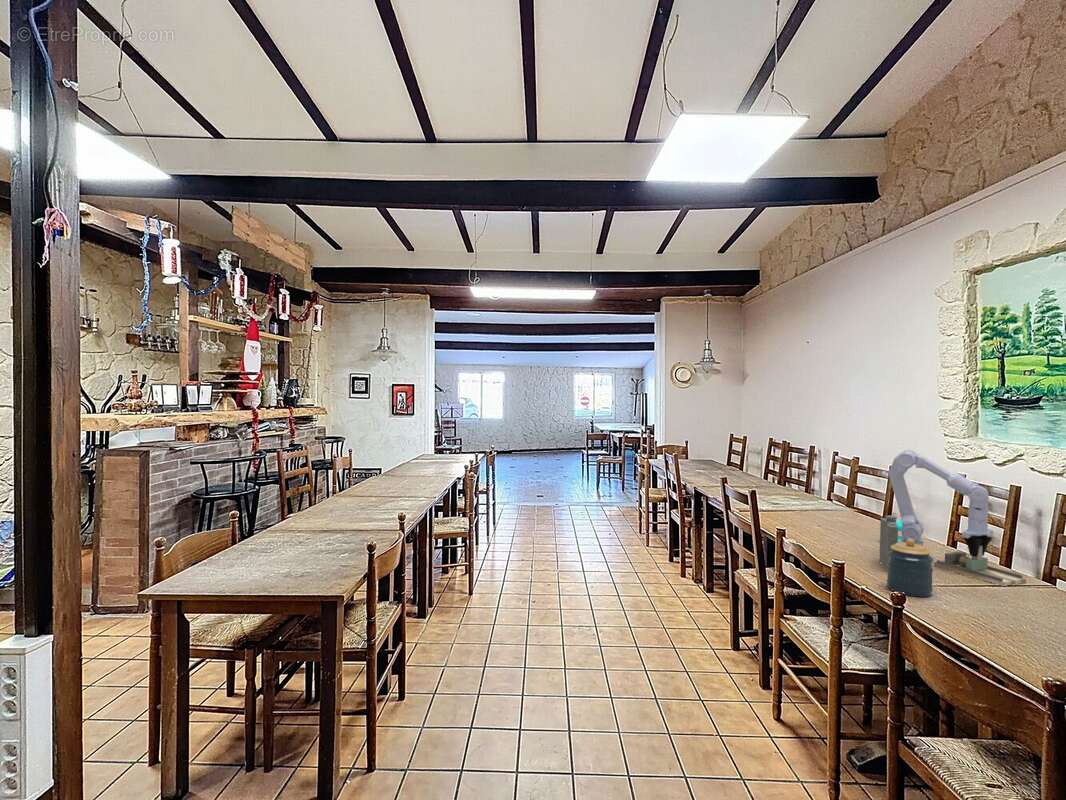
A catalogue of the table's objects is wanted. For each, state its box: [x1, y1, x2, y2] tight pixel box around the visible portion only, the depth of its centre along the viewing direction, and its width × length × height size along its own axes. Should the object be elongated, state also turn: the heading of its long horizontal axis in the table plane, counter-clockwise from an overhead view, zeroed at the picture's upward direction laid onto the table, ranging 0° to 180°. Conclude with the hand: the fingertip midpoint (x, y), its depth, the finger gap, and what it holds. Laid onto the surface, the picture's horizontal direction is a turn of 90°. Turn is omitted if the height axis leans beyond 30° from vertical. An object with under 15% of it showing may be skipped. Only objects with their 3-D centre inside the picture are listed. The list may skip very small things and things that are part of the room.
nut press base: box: [933, 551, 1027, 587], centre depth 209 cm, size 12×24×6 cm, turn 21°
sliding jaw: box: [966, 545, 989, 571], centre depth 210 cm, size 9×3×9 cm, turn 111°
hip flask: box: [879, 515, 899, 573], centre depth 215 cm, size 16×4×20 cm, turn 159°
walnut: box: [959, 555, 971, 567], centre depth 214 cm, size 4×4×4 cm
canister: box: [886, 539, 934, 598], centre depth 191 cm, size 13×13×18 cm
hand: (976, 555), depth 210 cm, fingers closed on sliding jaw, 3 cm apart
